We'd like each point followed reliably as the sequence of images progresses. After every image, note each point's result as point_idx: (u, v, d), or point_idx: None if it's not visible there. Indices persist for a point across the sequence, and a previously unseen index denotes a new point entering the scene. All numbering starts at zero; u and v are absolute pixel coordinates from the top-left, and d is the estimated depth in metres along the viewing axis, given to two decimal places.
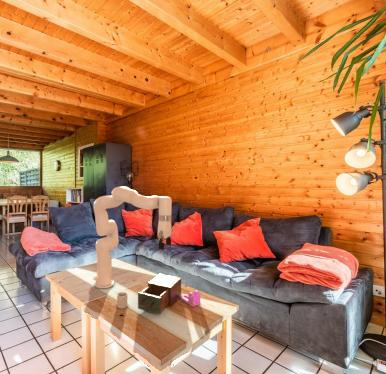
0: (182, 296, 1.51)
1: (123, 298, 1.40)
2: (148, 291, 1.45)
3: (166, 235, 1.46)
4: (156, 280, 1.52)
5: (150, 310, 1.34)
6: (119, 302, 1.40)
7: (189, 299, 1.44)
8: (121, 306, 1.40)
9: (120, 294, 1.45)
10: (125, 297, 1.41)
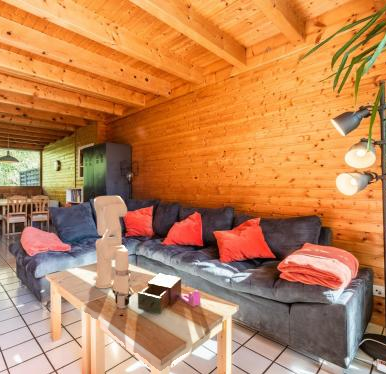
0: (182, 296, 1.51)
1: (123, 298, 1.40)
2: (148, 291, 1.45)
3: (115, 289, 1.42)
4: (156, 280, 1.52)
5: (150, 310, 1.34)
6: (119, 302, 1.40)
7: (189, 299, 1.44)
8: (121, 306, 1.40)
9: (120, 294, 1.45)
10: (125, 297, 1.41)
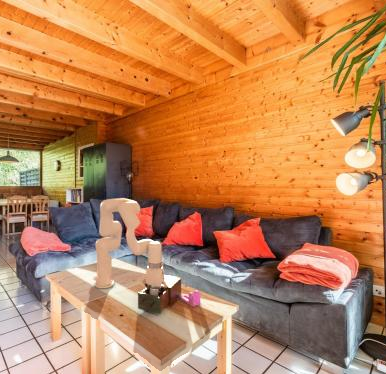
0: (182, 296, 1.51)
1: (156, 291, 1.38)
2: None
3: (148, 282, 1.40)
4: None
5: (150, 310, 1.34)
6: None
7: (189, 299, 1.44)
8: None
9: (152, 287, 1.43)
10: (158, 290, 1.39)
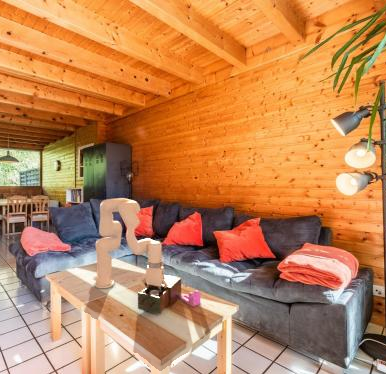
0: (182, 296, 1.51)
1: None
2: None
3: (148, 281, 1.40)
4: None
5: (150, 310, 1.34)
6: None
7: (189, 299, 1.44)
8: None
9: (152, 292, 1.43)
10: None
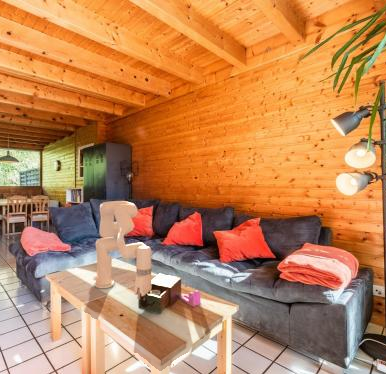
0: (182, 296, 1.51)
1: (157, 295, 1.39)
2: None
3: (144, 292, 1.27)
4: (156, 280, 1.52)
5: (151, 310, 1.35)
6: None
7: (189, 299, 1.44)
8: None
9: (153, 292, 1.43)
10: (159, 294, 1.40)
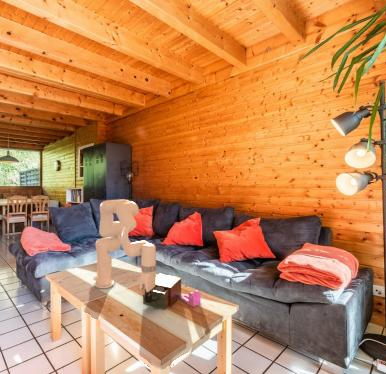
0: (182, 296, 1.51)
1: None
2: None
3: (149, 288, 1.31)
4: (156, 280, 1.52)
5: (155, 305, 1.39)
6: None
7: (189, 299, 1.44)
8: None
9: (157, 288, 1.48)
10: (162, 291, 1.44)
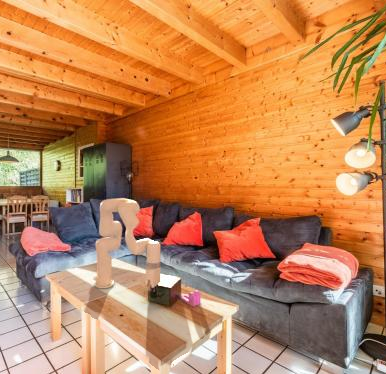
0: (182, 296, 1.51)
1: None
2: None
3: (154, 284, 1.36)
4: None
5: (160, 301, 1.44)
6: None
7: (189, 299, 1.44)
8: None
9: None
10: None
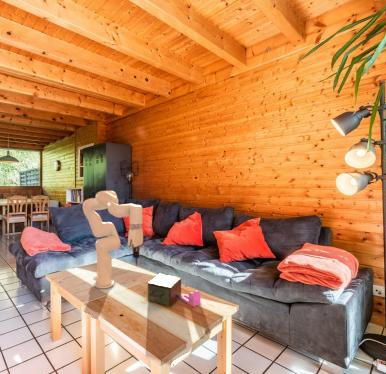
0: (182, 296, 1.51)
1: None
2: None
3: (136, 244, 1.46)
4: (156, 280, 1.52)
5: (160, 301, 1.44)
6: None
7: (189, 299, 1.44)
8: None
9: None
10: None
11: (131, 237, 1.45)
